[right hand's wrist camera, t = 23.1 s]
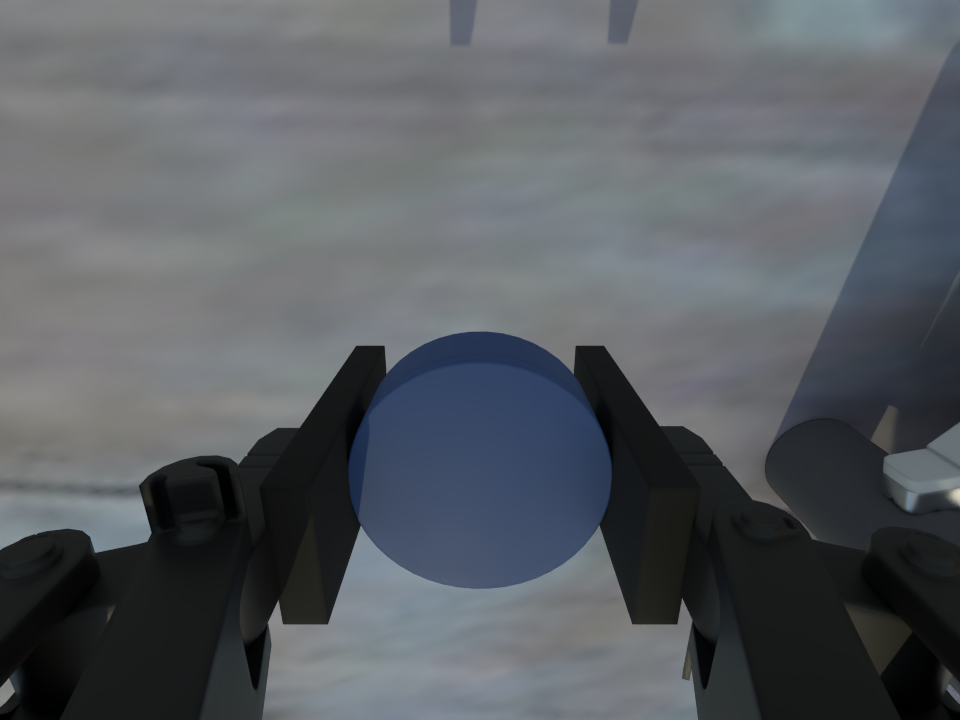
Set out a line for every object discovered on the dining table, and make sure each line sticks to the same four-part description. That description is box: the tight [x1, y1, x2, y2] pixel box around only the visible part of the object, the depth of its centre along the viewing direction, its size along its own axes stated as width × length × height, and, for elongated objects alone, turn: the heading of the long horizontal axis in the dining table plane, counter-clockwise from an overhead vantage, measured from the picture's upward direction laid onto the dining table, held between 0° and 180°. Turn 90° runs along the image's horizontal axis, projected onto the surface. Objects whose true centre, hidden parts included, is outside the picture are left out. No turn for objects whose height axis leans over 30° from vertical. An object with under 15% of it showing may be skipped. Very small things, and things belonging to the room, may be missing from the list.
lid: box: [348, 332, 612, 589], centre depth 11 cm, size 5×5×2 cm
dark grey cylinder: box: [765, 419, 960, 695], centre depth 19 cm, size 5×5×15 cm
